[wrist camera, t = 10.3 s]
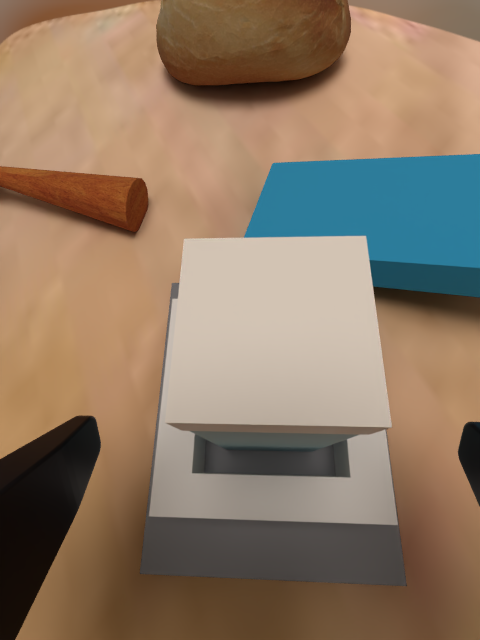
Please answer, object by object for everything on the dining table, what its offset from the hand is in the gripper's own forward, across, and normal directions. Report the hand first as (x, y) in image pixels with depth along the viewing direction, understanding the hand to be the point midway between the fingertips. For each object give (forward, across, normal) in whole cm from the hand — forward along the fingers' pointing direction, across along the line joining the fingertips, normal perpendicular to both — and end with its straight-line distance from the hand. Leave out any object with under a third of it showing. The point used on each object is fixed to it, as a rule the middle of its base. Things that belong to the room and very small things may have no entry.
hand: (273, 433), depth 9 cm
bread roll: (+28, +1, -14) cm, 31 cm away
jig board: (+8, 0, +5) cm, 10 cm away
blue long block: (+15, -8, -1) cm, 17 cm away
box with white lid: (+8, 0, +5) cm, 9 cm away
